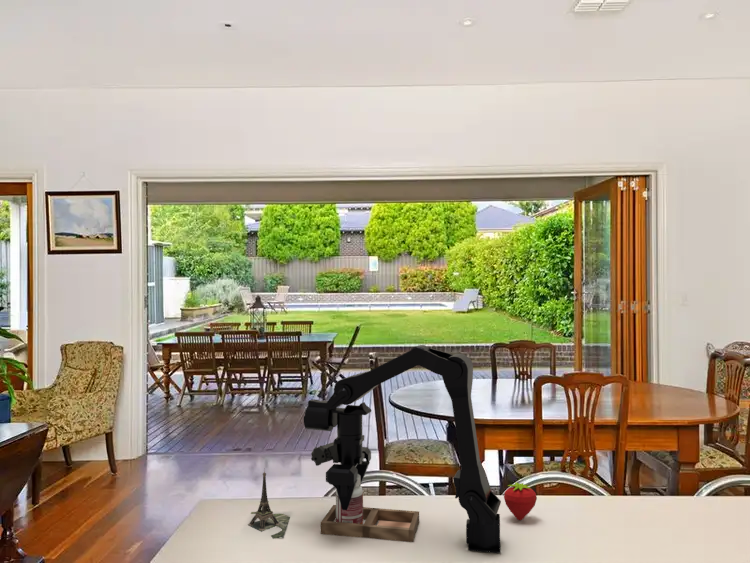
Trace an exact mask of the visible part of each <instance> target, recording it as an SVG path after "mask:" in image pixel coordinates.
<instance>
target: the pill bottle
mask: <svg viewBox="0 0 750 563" xmlns="http://www.w3.org/2000/svg"><path fill="white" fill-rule="evenodd" d="M360 484H361V485H362V483H361V478H360V475H359V474H358V475H357V483H356V486H355V489H354V492H353V495H352V498H351V501H350V503H349V506H348V509H347V510H342V507H341V504H340V500H339V496H338V493H337V490H336V489H335V505H336V519H335V522H344V523H356V524H364V520H363V507H364V491H363V487H362V486H359V485H360Z"/></svg>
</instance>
